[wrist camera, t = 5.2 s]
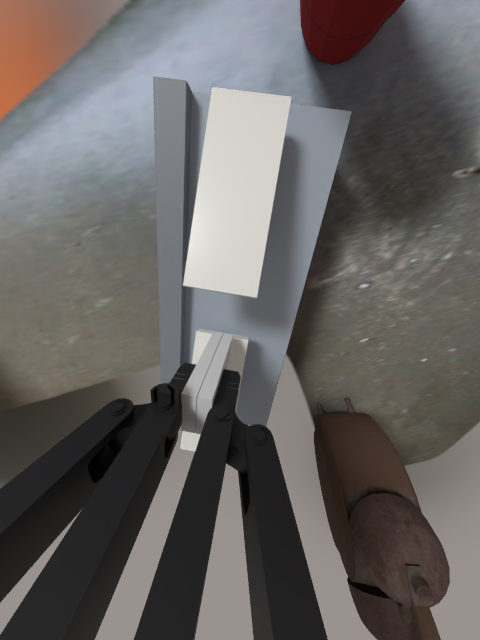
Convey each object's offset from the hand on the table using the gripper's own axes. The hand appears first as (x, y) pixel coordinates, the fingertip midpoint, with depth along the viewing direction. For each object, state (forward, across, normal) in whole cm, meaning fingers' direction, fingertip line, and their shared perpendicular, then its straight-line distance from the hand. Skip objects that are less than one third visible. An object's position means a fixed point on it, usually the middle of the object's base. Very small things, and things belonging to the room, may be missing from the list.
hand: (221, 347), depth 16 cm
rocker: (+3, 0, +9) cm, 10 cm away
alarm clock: (+9, +17, -15) cm, 24 cm away
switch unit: (+9, 0, +2) cm, 9 cm away
